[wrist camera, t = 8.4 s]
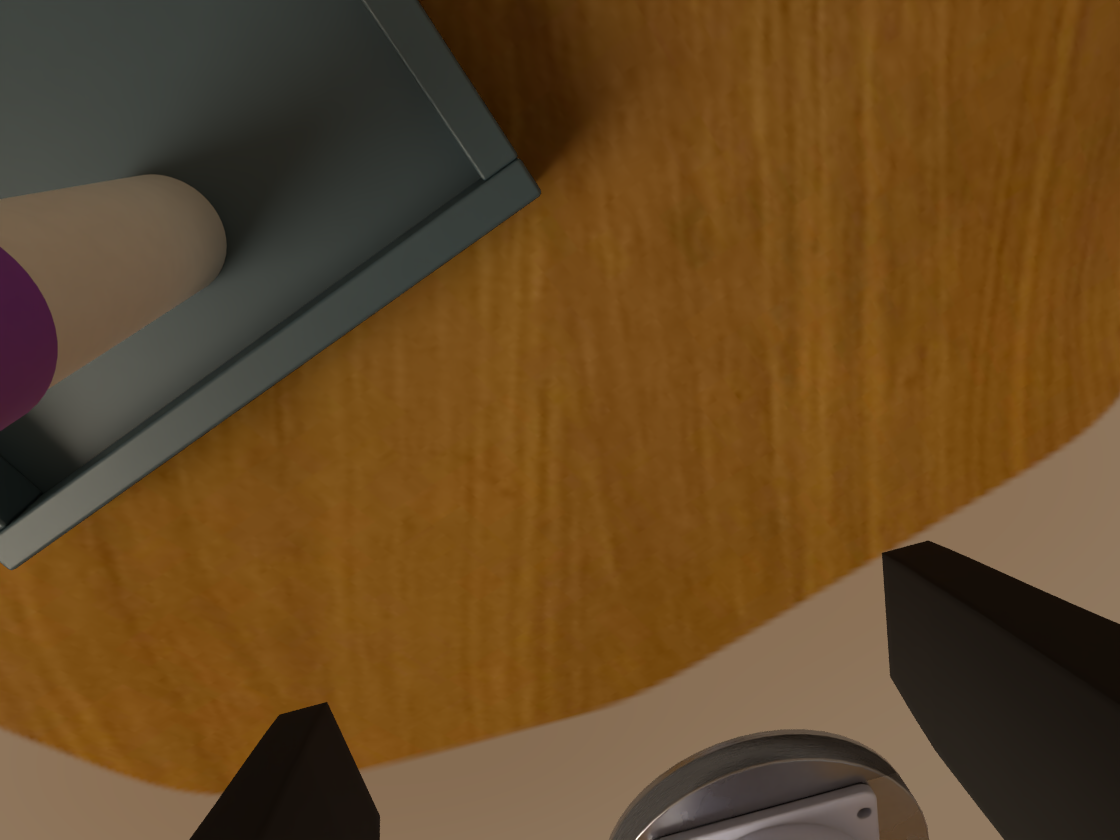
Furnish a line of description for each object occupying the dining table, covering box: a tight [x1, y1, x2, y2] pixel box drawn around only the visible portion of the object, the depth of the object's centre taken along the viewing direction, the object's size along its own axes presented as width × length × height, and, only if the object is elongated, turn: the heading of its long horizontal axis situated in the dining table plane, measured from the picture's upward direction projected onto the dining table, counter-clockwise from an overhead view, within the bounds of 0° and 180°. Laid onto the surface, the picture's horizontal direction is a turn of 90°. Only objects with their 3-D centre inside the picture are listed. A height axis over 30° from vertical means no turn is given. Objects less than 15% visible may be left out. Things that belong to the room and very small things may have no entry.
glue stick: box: [0, 174, 227, 431], centre depth 11 cm, size 3×3×9 cm
